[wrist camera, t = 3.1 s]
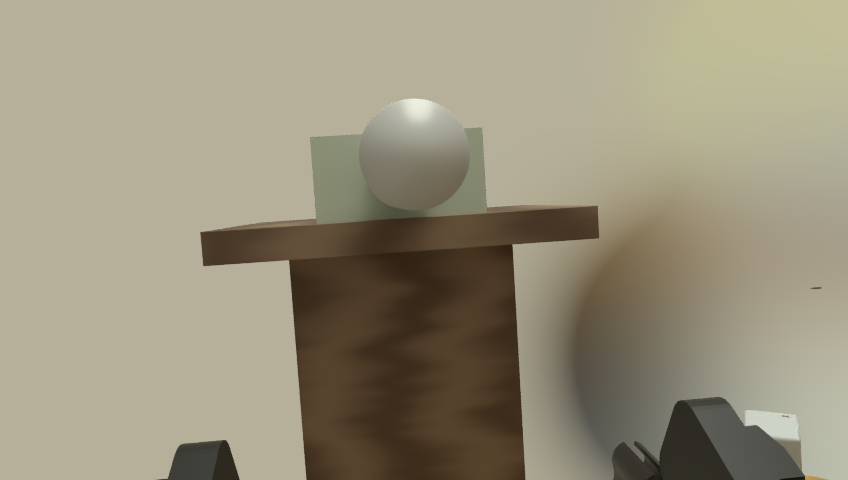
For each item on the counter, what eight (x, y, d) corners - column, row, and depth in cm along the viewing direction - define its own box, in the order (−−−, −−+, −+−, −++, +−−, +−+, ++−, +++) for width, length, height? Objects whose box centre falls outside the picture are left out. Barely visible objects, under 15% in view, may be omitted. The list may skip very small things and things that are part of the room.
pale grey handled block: (463, 210, 37) (459, 144, 36) (564, 219, 17) (556, 72, 16) (330, 219, 36) (325, 151, 36) (270, 238, 16) (258, 87, 16)
